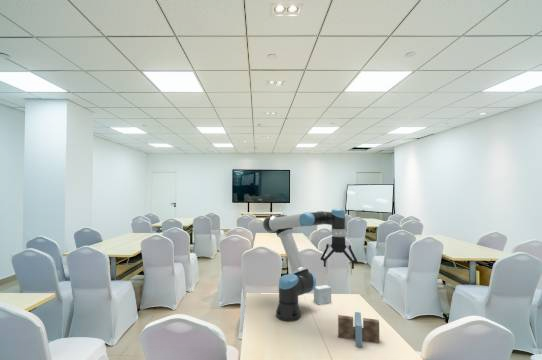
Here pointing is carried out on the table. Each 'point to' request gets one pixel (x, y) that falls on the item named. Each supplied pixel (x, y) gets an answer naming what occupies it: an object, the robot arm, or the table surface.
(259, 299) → the table surface
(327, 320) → the table surface
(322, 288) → the skincare box
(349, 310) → the table surface
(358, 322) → the long blue bar
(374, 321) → the slotted beam
